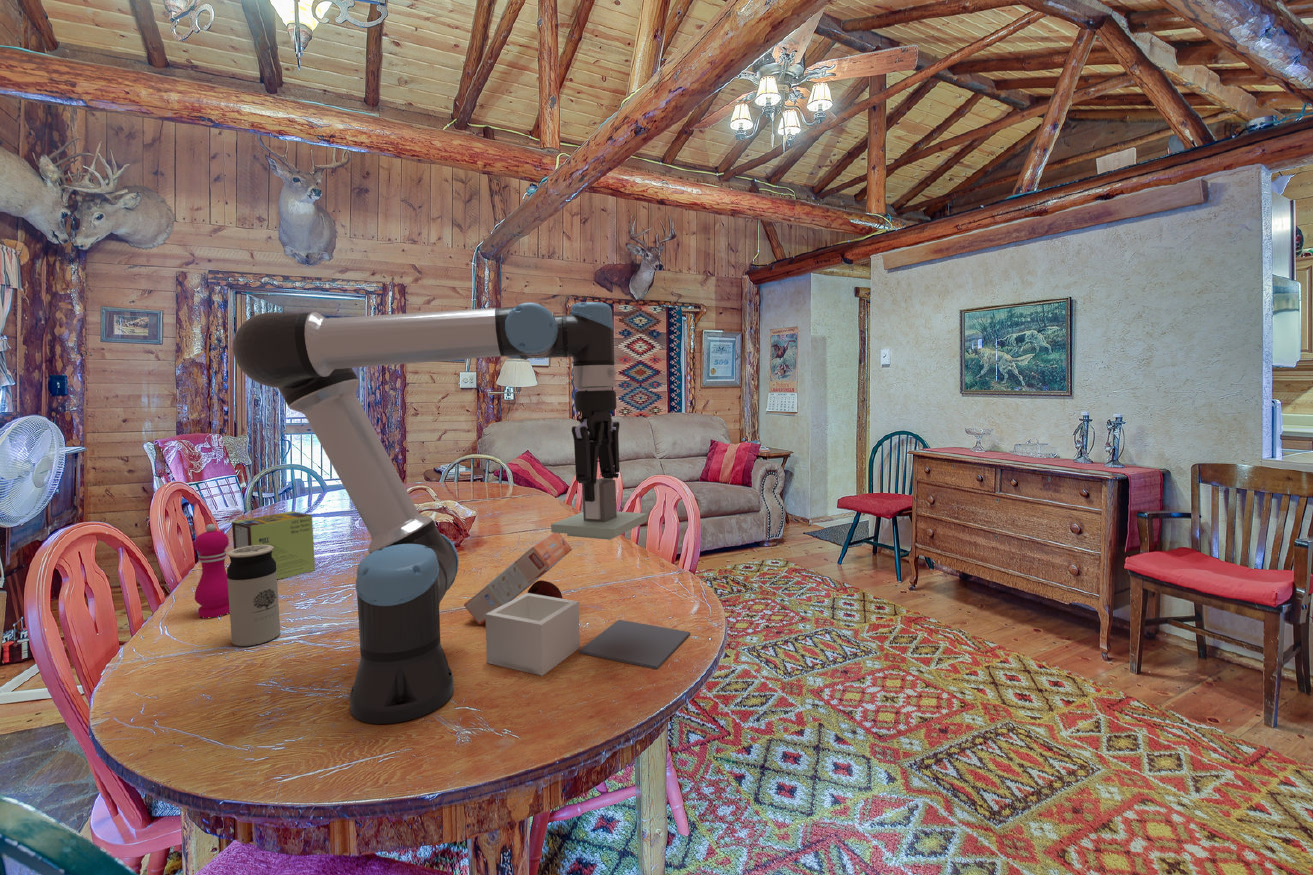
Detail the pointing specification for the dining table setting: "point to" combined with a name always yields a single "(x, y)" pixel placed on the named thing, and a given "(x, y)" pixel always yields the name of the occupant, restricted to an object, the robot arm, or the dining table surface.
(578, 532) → the lid
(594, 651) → the mat
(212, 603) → the pepper mill
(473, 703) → the dining table surface
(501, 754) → the dining table surface
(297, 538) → the protein box
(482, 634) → the dining table surface
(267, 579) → the travel mug
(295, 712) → the dining table surface
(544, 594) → the apple
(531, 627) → the storage box
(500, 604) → the cracker box
